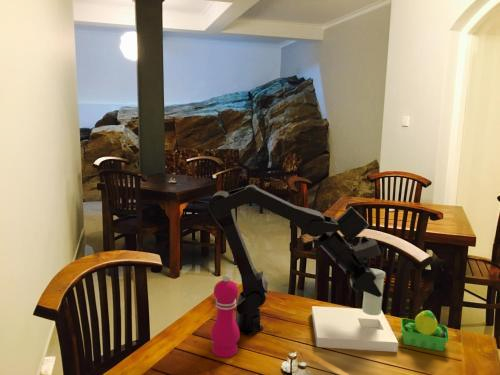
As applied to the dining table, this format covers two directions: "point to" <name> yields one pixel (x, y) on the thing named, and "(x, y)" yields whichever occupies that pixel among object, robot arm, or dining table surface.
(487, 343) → the dining table surface
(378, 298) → the grey cylinder
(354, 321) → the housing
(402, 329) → the fruit basket
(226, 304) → the pepper mill
